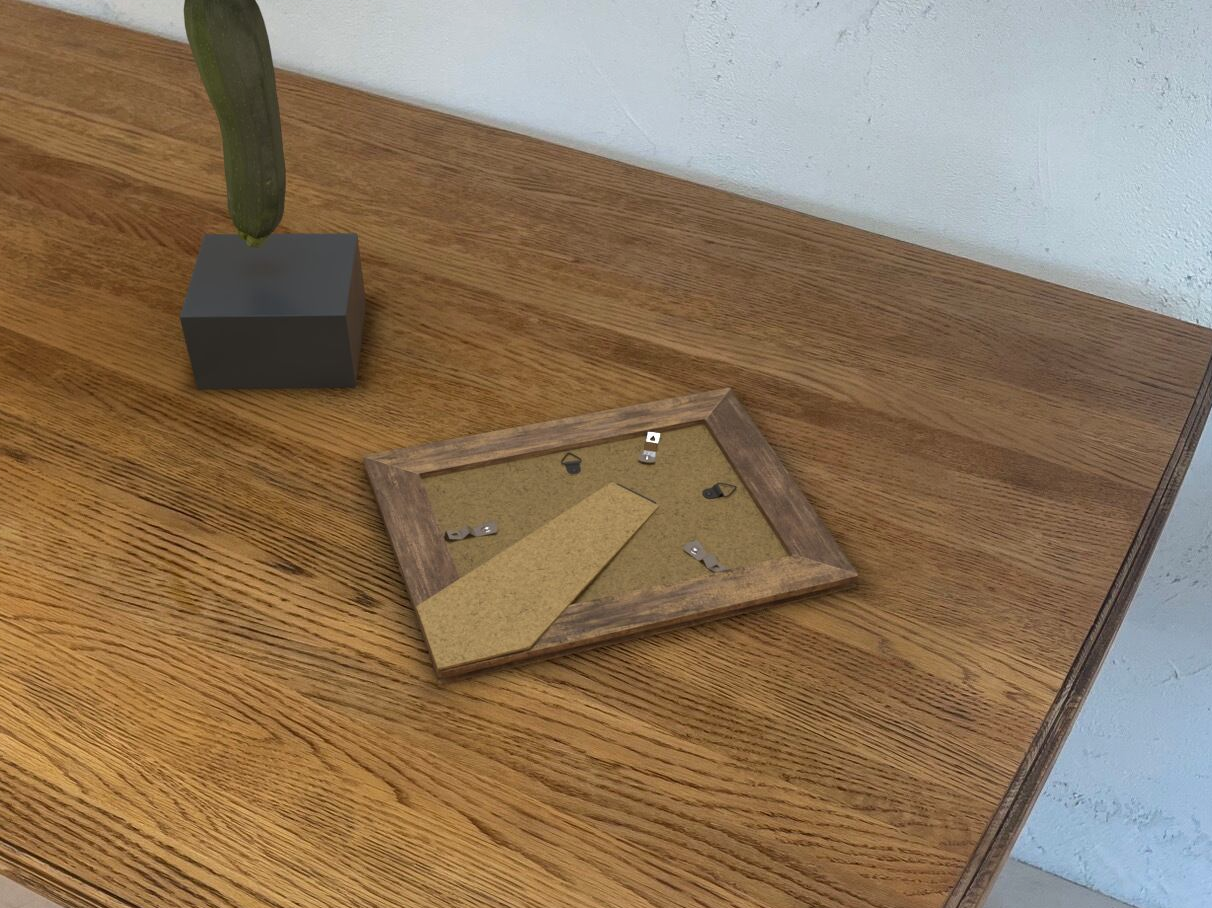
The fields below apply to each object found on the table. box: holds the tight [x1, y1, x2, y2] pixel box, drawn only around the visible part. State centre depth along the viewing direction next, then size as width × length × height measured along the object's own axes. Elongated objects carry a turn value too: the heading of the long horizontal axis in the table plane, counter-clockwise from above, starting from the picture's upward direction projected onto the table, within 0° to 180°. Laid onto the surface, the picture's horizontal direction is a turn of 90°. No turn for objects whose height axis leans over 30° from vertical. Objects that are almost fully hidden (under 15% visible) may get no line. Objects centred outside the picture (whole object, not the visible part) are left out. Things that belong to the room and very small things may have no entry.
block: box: [179, 232, 367, 391], centre depth 88 cm, size 10×10×6 cm
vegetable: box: [183, 0, 287, 248], centre depth 78 cm, size 4×4×20 cm
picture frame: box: [362, 387, 859, 685], centre depth 78 cm, size 19×2×24 cm
